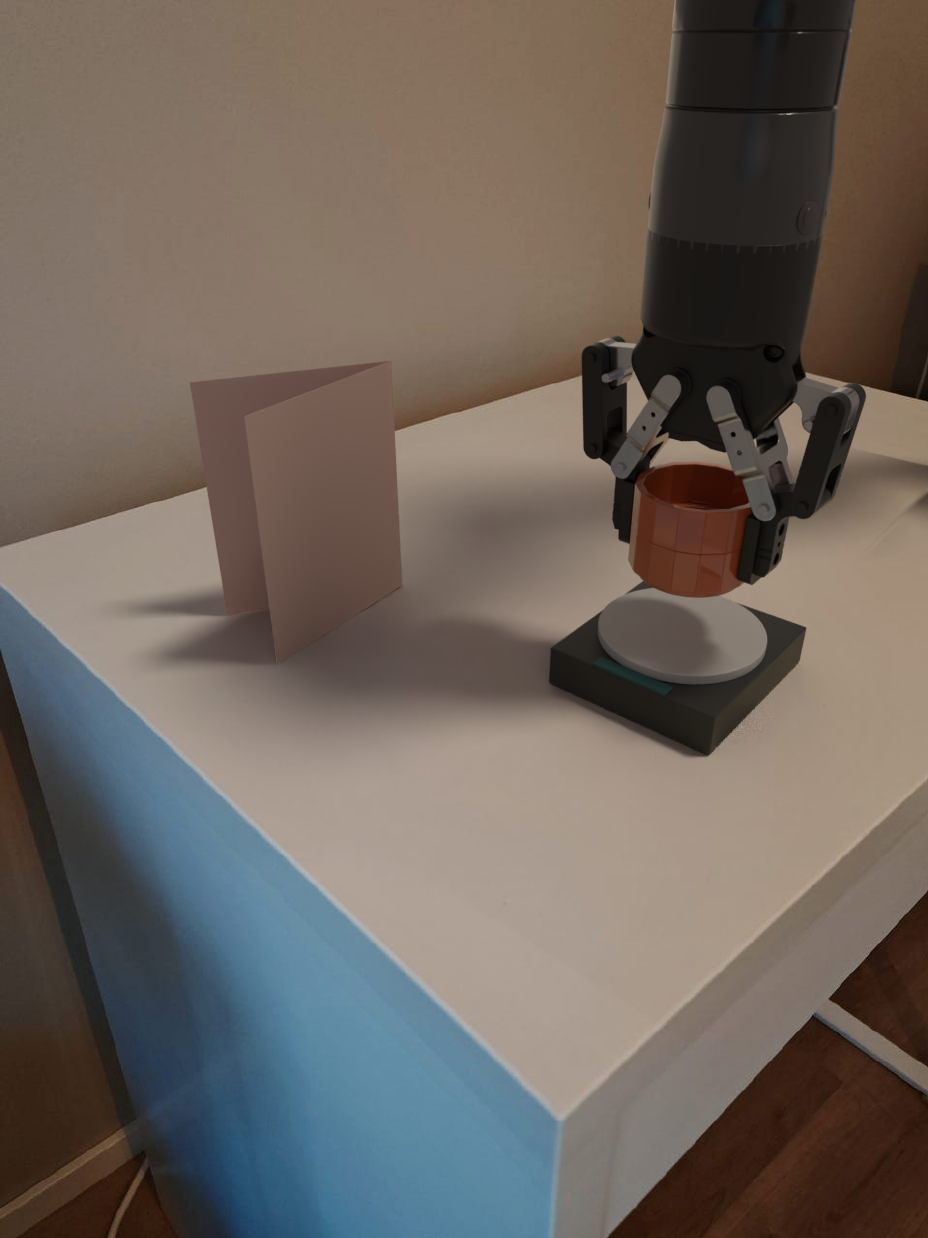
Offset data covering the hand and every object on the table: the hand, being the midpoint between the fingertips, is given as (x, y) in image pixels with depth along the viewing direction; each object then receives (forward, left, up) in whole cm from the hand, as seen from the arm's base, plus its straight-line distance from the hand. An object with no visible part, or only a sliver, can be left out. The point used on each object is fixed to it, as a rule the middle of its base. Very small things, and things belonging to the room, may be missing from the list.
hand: (690, 556), depth 51 cm
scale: (0, 0, -7) cm, 7 cm away
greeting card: (+9, -19, -8) cm, 23 cm away
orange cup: (0, 0, -1) cm, 1 cm away
